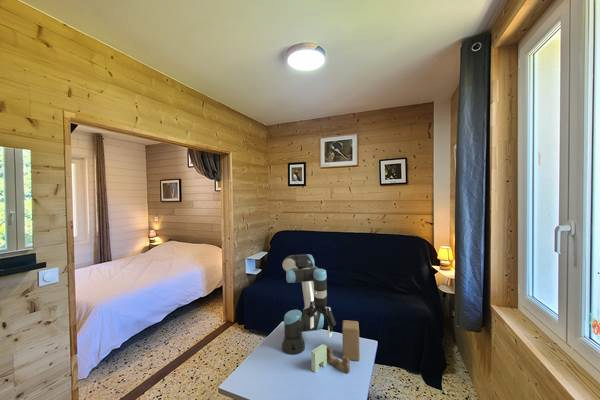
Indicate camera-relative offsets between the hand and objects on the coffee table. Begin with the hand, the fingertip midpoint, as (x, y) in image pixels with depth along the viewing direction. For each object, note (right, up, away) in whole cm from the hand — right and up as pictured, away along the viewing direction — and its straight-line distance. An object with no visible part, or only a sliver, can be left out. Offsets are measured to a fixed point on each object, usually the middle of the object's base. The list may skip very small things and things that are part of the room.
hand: (320, 332), depth 145 cm
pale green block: (-1, -21, 0) cm, 21 cm away
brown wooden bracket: (+10, -20, 0) cm, 23 cm away
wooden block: (+20, -20, +10) cm, 30 cm away
